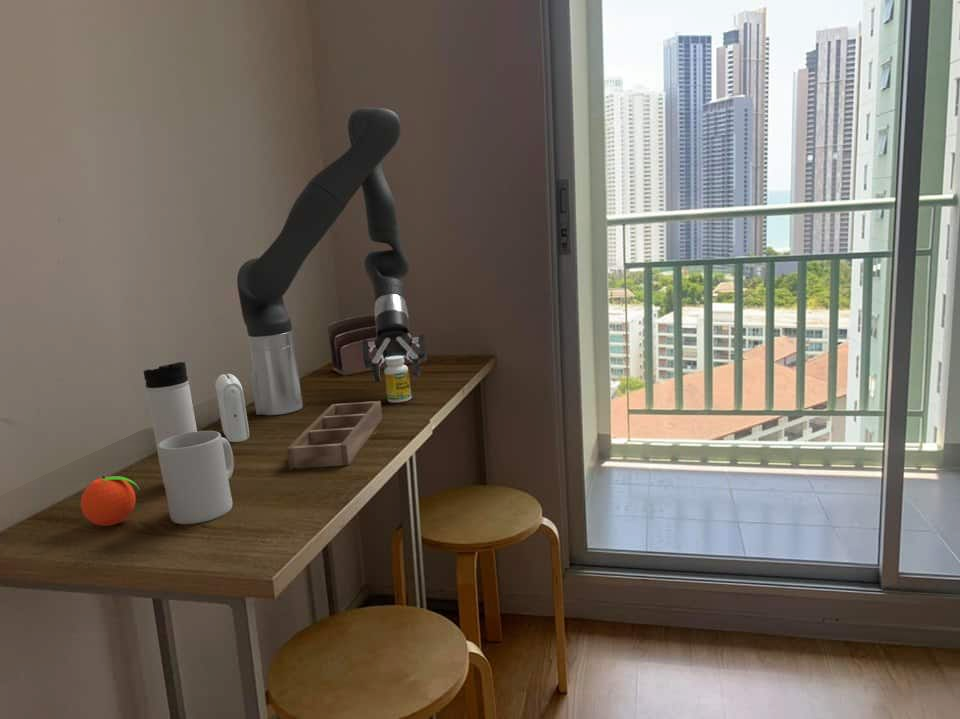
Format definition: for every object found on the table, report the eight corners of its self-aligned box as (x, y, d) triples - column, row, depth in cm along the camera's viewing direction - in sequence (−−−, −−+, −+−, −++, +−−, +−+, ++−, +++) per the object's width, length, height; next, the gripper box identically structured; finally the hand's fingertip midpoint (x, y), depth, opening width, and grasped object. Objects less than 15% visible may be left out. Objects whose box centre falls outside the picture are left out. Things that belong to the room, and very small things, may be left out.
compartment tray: (289, 468, 122) (286, 448, 121) (333, 421, 149) (331, 404, 148) (348, 465, 121) (346, 444, 120) (382, 417, 148) (380, 400, 148)
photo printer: (252, 439, 141) (242, 376, 139) (229, 444, 139) (218, 380, 137) (243, 427, 150) (233, 368, 148) (221, 432, 148) (211, 372, 146)
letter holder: (332, 371, 202) (326, 320, 199) (400, 359, 210) (394, 310, 207) (343, 376, 193) (336, 323, 190) (413, 363, 201) (407, 312, 199)
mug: (206, 526, 101) (193, 449, 99) (157, 522, 104) (143, 448, 101) (259, 493, 112) (248, 423, 110) (213, 490, 115) (202, 423, 112)
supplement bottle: (401, 395, 166) (397, 353, 164) (416, 398, 162) (412, 355, 160) (382, 401, 162) (377, 358, 160) (397, 404, 158) (392, 360, 156)
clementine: (153, 510, 109) (145, 464, 107) (138, 529, 102) (128, 480, 100) (97, 517, 108) (87, 471, 106) (77, 537, 101) (67, 488, 100)
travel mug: (181, 493, 115) (159, 367, 111) (155, 487, 118) (133, 366, 114) (214, 479, 120) (194, 359, 116) (189, 474, 123) (168, 357, 120)
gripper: (358, 312, 165) (361, 373, 156) (422, 305, 166) (429, 365, 157) (362, 331, 171) (365, 391, 162) (423, 325, 172) (430, 384, 163)
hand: (397, 378), depth 159 cm, fingers open, 7 cm apart
